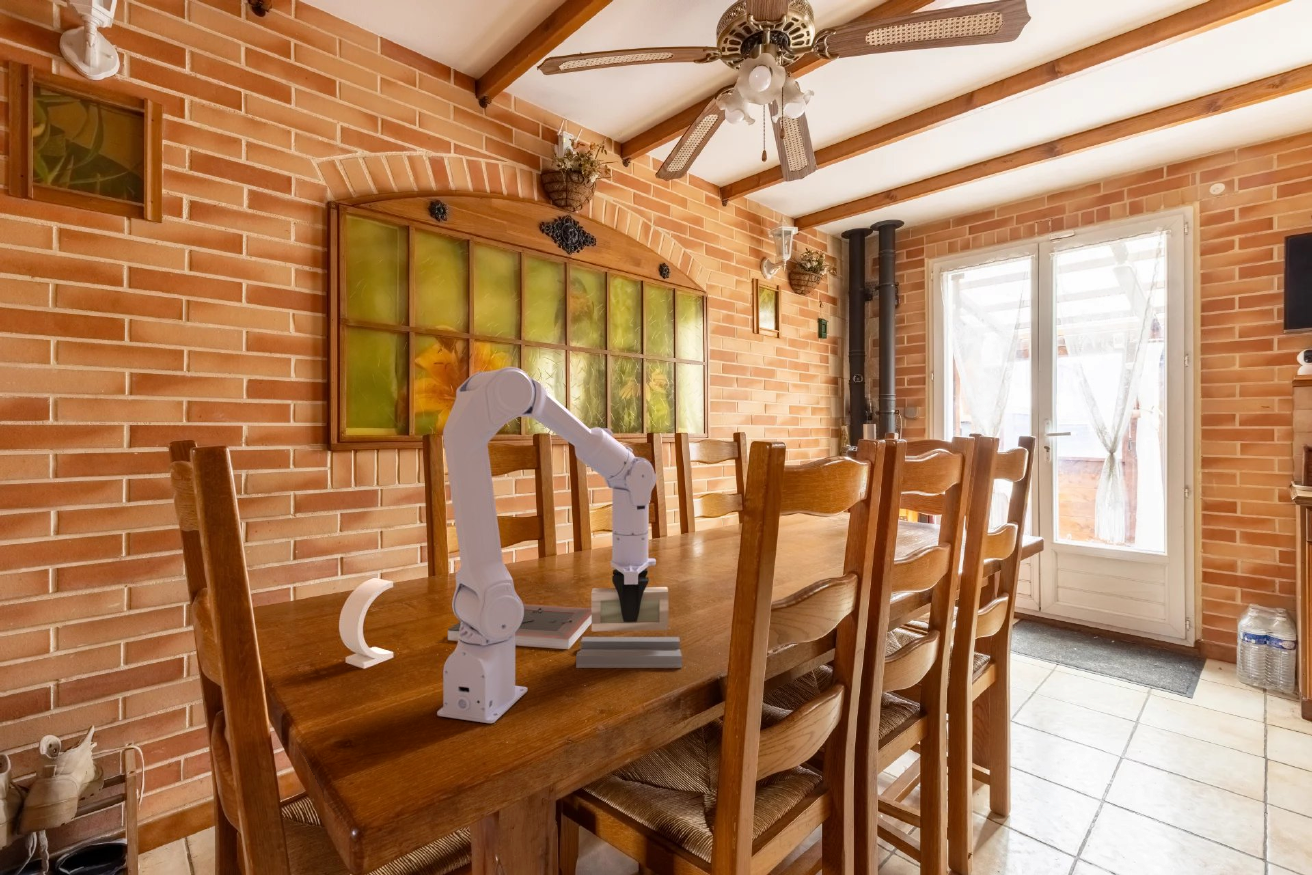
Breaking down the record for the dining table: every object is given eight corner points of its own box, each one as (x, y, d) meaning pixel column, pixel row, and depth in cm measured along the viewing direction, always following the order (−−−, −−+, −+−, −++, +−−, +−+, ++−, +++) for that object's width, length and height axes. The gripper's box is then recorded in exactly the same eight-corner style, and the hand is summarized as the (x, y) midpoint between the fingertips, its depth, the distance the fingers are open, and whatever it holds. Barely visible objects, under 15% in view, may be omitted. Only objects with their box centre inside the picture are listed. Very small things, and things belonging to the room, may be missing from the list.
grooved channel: (681, 667, 89) (681, 656, 89) (576, 667, 88) (576, 655, 88) (679, 647, 97) (679, 636, 97) (582, 647, 96) (582, 636, 96)
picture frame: (447, 643, 100) (568, 653, 96) (447, 629, 100) (568, 638, 96) (491, 613, 116) (596, 620, 112) (491, 600, 116) (596, 607, 112)
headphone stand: (393, 657, 92) (393, 581, 92) (357, 671, 87) (357, 591, 87) (375, 651, 94) (374, 577, 94) (339, 664, 89) (338, 586, 89)
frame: (668, 629, 92) (668, 591, 91) (591, 631, 91) (591, 593, 91) (667, 623, 94) (667, 586, 94) (592, 625, 93) (592, 588, 93)
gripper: (658, 541, 85) (658, 633, 85) (653, 524, 100) (652, 603, 100) (610, 541, 85) (609, 634, 85) (611, 524, 99) (611, 604, 99)
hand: (630, 617), depth 92 cm, fingers closed on frame, 2 cm apart
